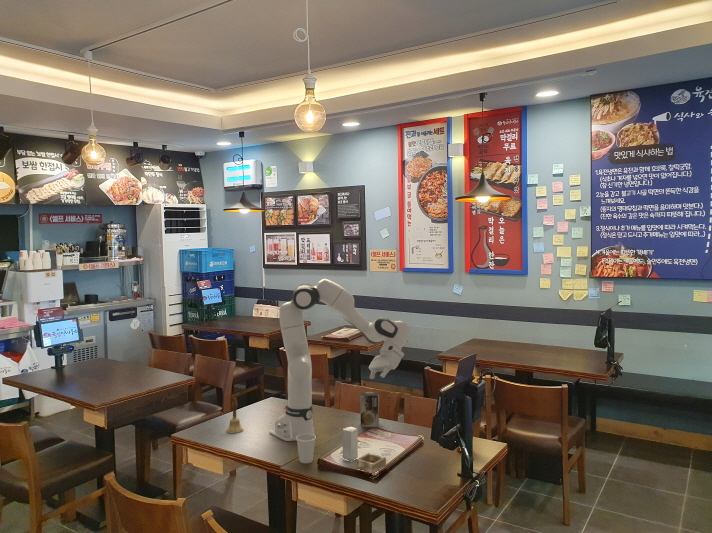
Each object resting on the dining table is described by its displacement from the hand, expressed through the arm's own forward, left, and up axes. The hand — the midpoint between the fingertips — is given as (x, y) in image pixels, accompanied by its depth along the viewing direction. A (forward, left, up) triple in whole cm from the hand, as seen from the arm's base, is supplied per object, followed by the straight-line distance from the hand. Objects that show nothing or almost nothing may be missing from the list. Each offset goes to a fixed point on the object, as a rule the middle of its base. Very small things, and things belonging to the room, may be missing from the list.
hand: (376, 377), depth 237 cm
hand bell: (-64, -28, -30) cm, 76 cm away
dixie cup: (-12, -34, -30) cm, 47 cm away
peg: (+2, -22, -30) cm, 37 cm away
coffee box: (-16, +18, -30) cm, 39 cm away
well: (+15, -25, -30) cm, 42 cm away
